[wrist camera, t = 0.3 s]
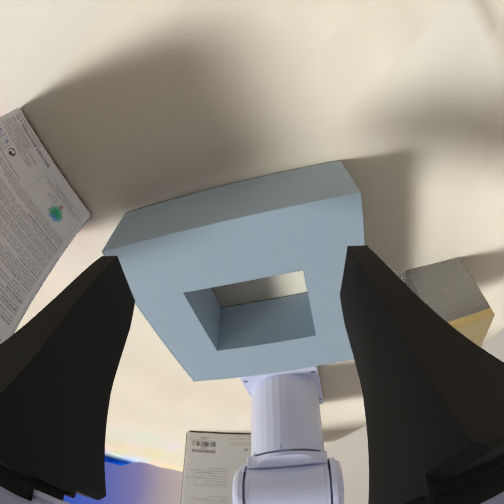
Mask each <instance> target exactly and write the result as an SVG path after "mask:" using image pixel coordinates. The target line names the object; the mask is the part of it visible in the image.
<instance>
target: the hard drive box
mask: <svg viewBox="0 0 504 504" xmlns="http://www.w3.org/2000/svg"><path fill="white" fill-rule="evenodd" d="M247 457H251V434H217V433H197V432H188V433H186V446H185V458H184V469H183V480H182V492H181V504H233V500H232V486H233V478H234V474H235V472H236V470H238V469H239V467H240V466H241V465H246V464H247Z"/></svg>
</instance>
